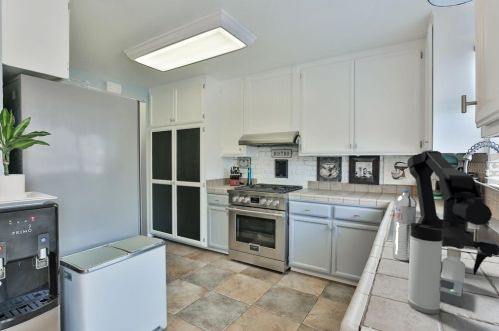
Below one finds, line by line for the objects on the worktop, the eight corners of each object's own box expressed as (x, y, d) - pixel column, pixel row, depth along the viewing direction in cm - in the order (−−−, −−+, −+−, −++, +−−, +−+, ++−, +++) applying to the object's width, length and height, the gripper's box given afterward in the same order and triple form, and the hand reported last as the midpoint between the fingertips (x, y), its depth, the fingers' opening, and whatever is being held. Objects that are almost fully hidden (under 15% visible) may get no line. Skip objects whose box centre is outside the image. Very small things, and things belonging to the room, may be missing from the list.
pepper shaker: (440, 278, 77) (442, 247, 76) (452, 278, 77) (453, 247, 77) (453, 285, 73) (454, 252, 73) (465, 284, 73) (466, 251, 73)
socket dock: (422, 280, 75) (423, 271, 75) (462, 291, 69) (463, 281, 69) (416, 293, 68) (416, 282, 68) (460, 306, 61) (461, 294, 61)
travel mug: (400, 300, 64) (403, 220, 64) (425, 299, 64) (428, 220, 64) (418, 315, 58) (422, 227, 57) (446, 314, 58) (449, 227, 58)
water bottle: (416, 263, 88) (418, 191, 88) (393, 259, 91) (396, 190, 91) (412, 257, 95) (415, 189, 94) (391, 253, 97) (394, 188, 97)
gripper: (412, 215, 75) (410, 268, 75) (501, 227, 62) (499, 290, 63) (419, 210, 83) (417, 258, 84) (499, 220, 71) (496, 276, 71)
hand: (453, 269), depth 75 cm, fingers open, 9 cm apart
